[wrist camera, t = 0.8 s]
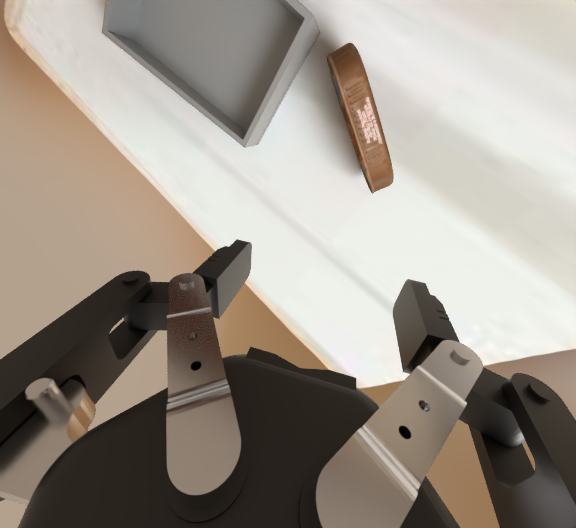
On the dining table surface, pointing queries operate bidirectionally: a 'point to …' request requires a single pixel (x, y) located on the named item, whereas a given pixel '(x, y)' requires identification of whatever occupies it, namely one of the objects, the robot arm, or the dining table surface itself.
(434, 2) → the dining table surface
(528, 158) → the dining table surface
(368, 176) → the tin
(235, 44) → the bin
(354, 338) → the dining table surface
